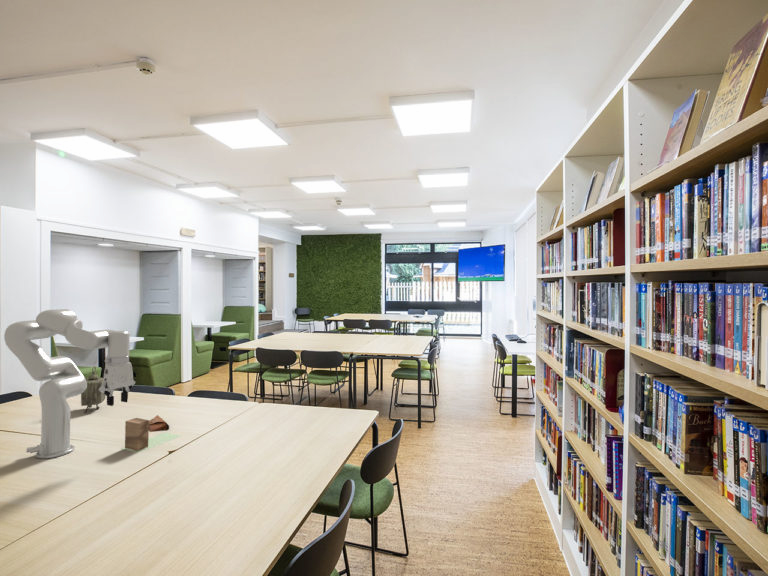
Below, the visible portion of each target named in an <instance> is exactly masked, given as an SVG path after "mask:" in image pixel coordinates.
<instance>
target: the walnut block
mask: <svg viewBox="0 0 768 576" xmlns="http://www.w3.org/2000/svg"><path fill="white" fill-rule="evenodd" d="M124 429H125V430H124V431H125V432H124V433H125V434H124V435H125V436H124V447H125V449H129V450H133V451H140V450H143V449H145V448H148V438H150V437H149V433H150V430H149V419H144V418H139V417H135V418H132V419H128V420H125V427H124Z"/></svg>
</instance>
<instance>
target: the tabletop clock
mask: <svg viewBox="0 0 768 576" xmlns="http://www.w3.org/2000/svg"><path fill="white" fill-rule="evenodd" d="M91 370H92V371H91V374H90V375H89V376H88V378H85V379H86V382H87V388H86V390H85V391H84V392H83V393H82V394H80V405H81V406H82V407H86V408H85V409H84V410H83V413H88V410H89V408H92V407H93V406H96V410H99V409H100V406H99V405H101V404H102V403H103V402H104V401H105V400H106V397H107V396H106V395H105V394H104V393H102V392H101V391H99V388H100V387H101V385H102V384H103V378H104V377H99V376H100V375H98V374H96V370H97V368H96V366H93V367H92V369H91ZM105 390H107V388H105Z"/></svg>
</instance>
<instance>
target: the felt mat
mask: <svg viewBox="0 0 768 576" xmlns="http://www.w3.org/2000/svg"><path fill="white" fill-rule="evenodd" d="M179 437H180V438H181V435H179V434H175V433H168V432H163V433H159V434H157V435H154V436H152V437H148V448H145V449H143V450H140V451H133V450H129V449H125V446H124V447H121V448H120V450H123V451H128V452H131V453H136V454H139V453H142V452H144V451H147V450H150V449H152V448H154V447H156V446H159V445H162V444H164V443H167V442H169V441H172V440H175V439H178V438H179Z"/></svg>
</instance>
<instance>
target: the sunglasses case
mask: <svg viewBox="0 0 768 576" xmlns="http://www.w3.org/2000/svg"><path fill="white" fill-rule="evenodd" d="M148 420H149V419H148ZM169 429H170V425H169V423H167V422H166V421H165V420H164V419H163V418H162V417H161V416H159V415H158V414H157V415H156V416H155V417H153V418H151V419H150V420H149V433H152V432H159V431H169Z"/></svg>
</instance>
